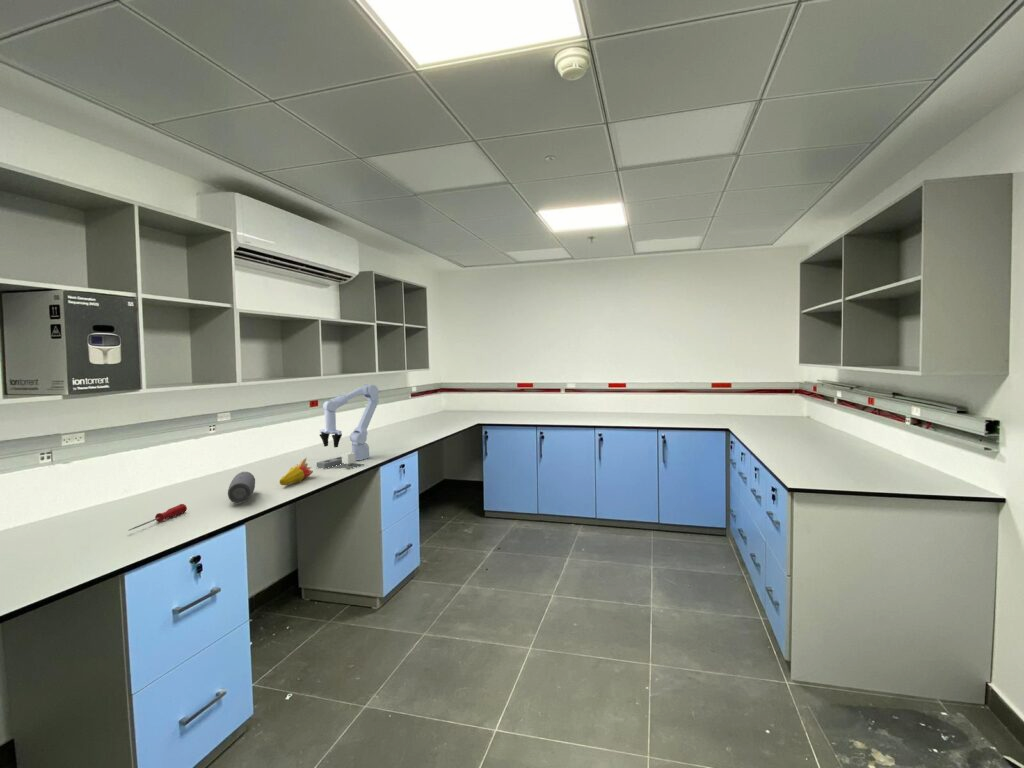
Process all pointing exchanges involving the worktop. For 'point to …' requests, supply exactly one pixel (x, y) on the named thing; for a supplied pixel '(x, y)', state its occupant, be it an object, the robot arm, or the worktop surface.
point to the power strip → (330, 462)
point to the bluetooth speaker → (241, 487)
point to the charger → (348, 458)
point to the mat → (348, 466)
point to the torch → (296, 473)
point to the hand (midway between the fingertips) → (331, 446)
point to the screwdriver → (167, 514)
